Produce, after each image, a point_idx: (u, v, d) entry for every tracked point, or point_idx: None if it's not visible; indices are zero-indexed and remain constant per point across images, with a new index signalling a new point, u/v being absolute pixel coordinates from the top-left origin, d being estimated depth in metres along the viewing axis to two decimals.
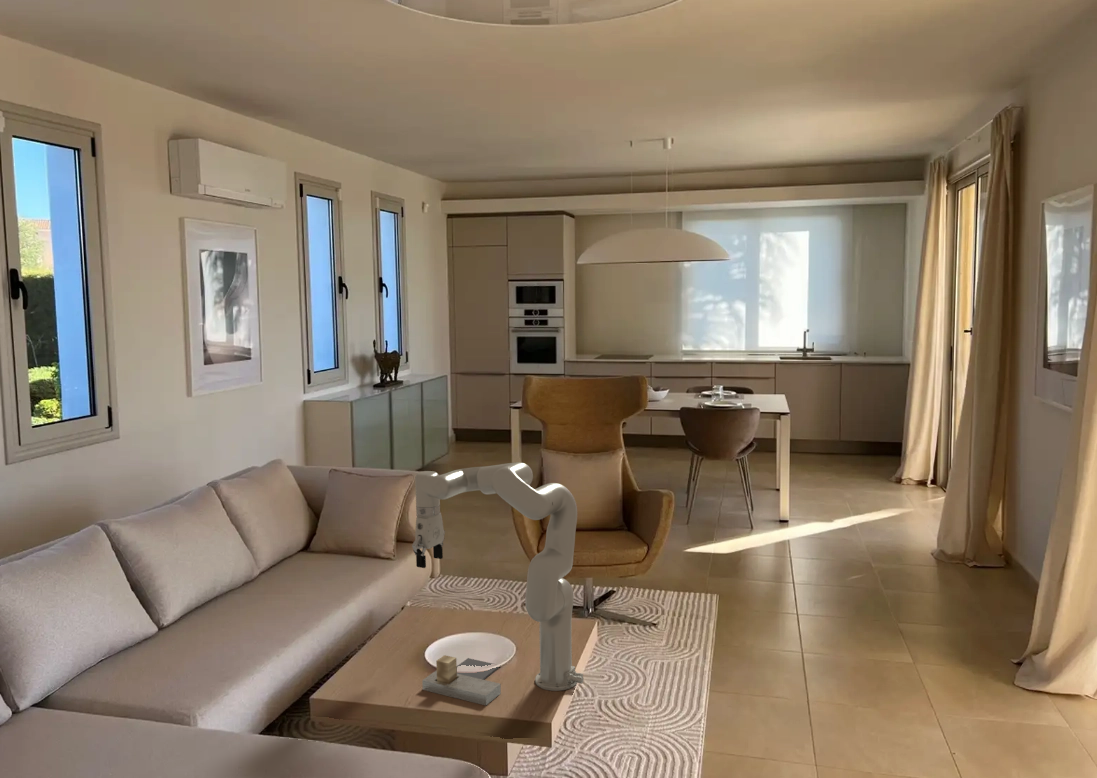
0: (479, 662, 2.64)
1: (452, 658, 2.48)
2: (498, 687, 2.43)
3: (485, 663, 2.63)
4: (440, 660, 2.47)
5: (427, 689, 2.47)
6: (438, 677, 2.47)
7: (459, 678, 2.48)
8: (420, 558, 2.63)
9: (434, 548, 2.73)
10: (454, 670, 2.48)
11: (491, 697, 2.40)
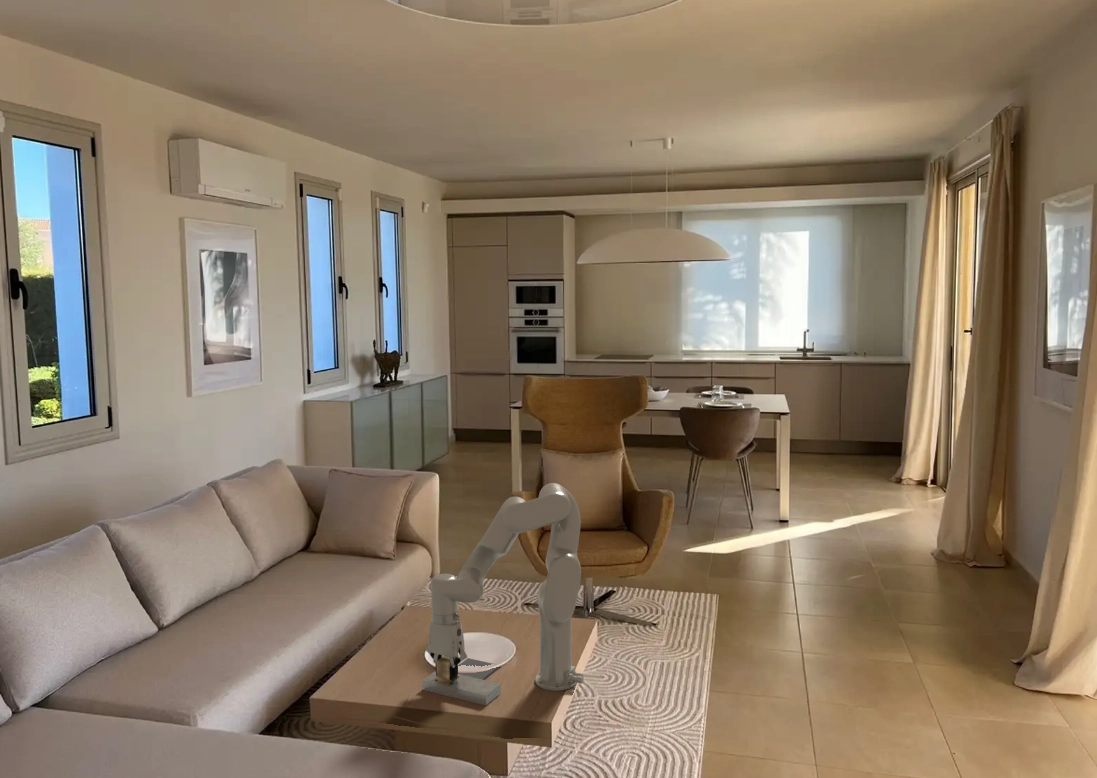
0: (479, 662, 2.64)
1: None
2: (498, 687, 2.43)
3: (485, 663, 2.63)
4: (440, 660, 2.47)
5: (427, 689, 2.47)
6: (438, 677, 2.47)
7: (459, 678, 2.48)
8: (457, 667, 2.47)
9: None
10: None
11: (491, 697, 2.40)
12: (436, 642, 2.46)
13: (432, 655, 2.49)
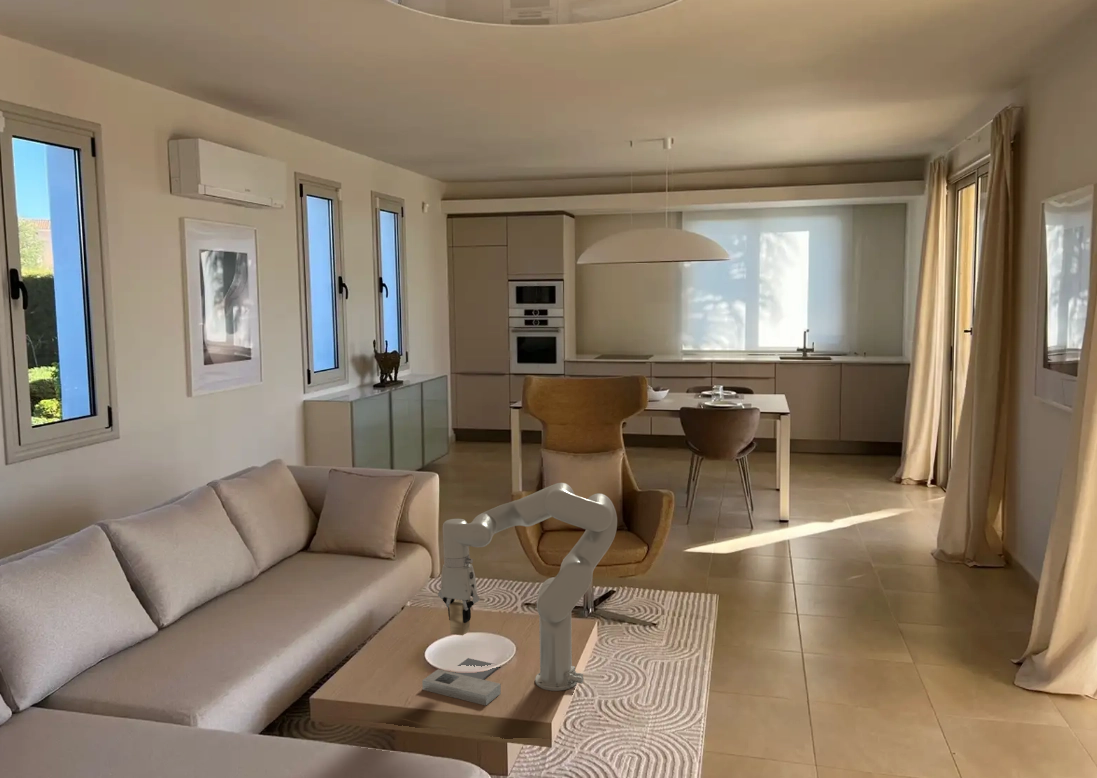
0: (479, 662, 2.64)
1: None
2: (498, 687, 2.43)
3: (485, 663, 2.63)
4: (453, 604, 2.50)
5: (427, 689, 2.47)
6: (451, 621, 2.50)
7: (459, 678, 2.48)
8: (469, 610, 2.50)
9: None
10: None
11: (491, 697, 2.40)
12: (449, 586, 2.49)
13: (445, 600, 2.52)
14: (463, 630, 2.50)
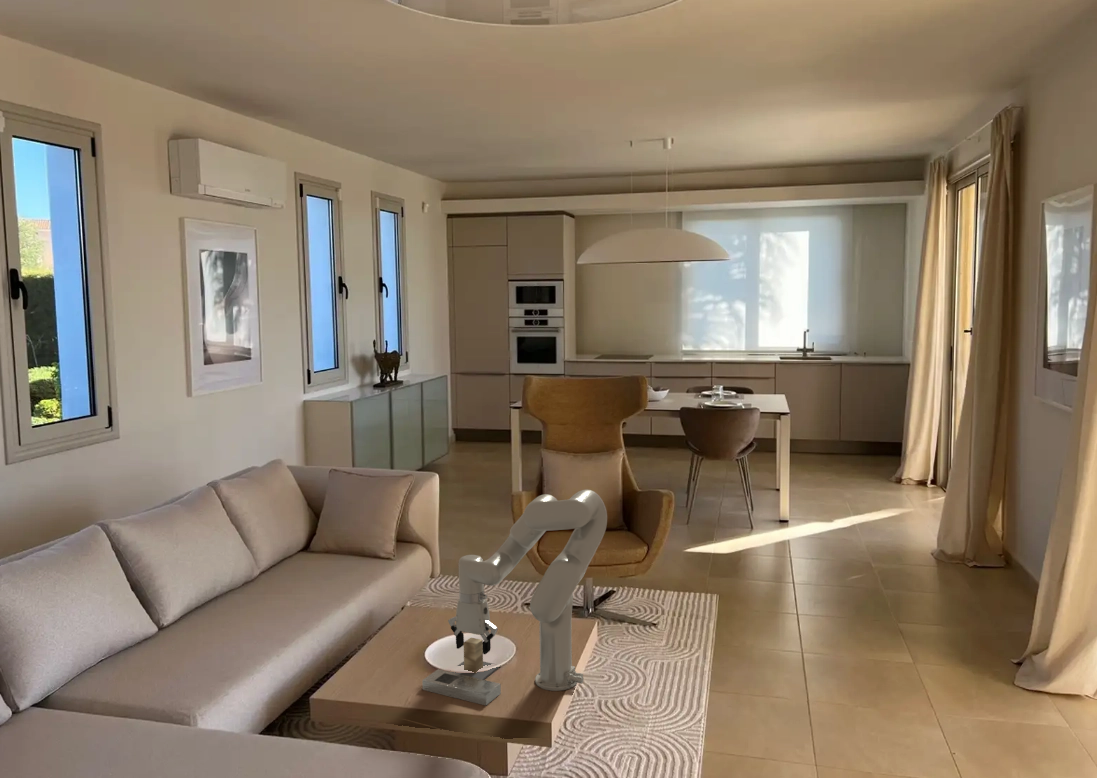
0: None
1: (478, 640, 2.59)
2: (498, 687, 2.43)
3: (485, 663, 2.63)
4: (467, 642, 2.58)
5: (427, 689, 2.47)
6: (465, 658, 2.58)
7: (459, 678, 2.48)
8: (489, 642, 2.56)
9: (459, 638, 2.60)
10: (480, 652, 2.59)
11: (491, 697, 2.40)
12: (463, 620, 2.56)
13: (453, 628, 2.60)
14: (476, 668, 2.57)
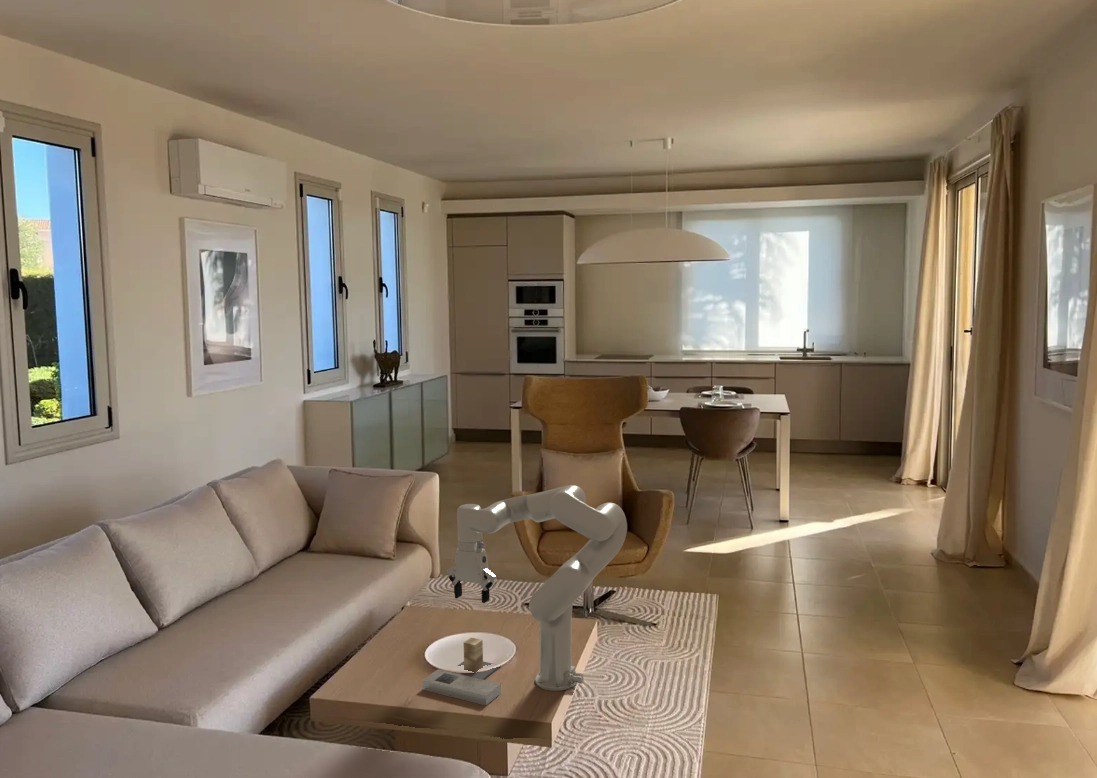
0: None
1: (478, 640, 2.59)
2: (498, 687, 2.43)
3: (485, 663, 2.63)
4: (467, 642, 2.58)
5: (427, 689, 2.47)
6: (465, 658, 2.58)
7: (459, 678, 2.48)
8: (488, 591, 2.55)
9: (457, 587, 2.59)
10: (480, 652, 2.59)
11: (491, 697, 2.40)
12: (462, 569, 2.55)
13: (451, 578, 2.59)
14: (476, 668, 2.57)
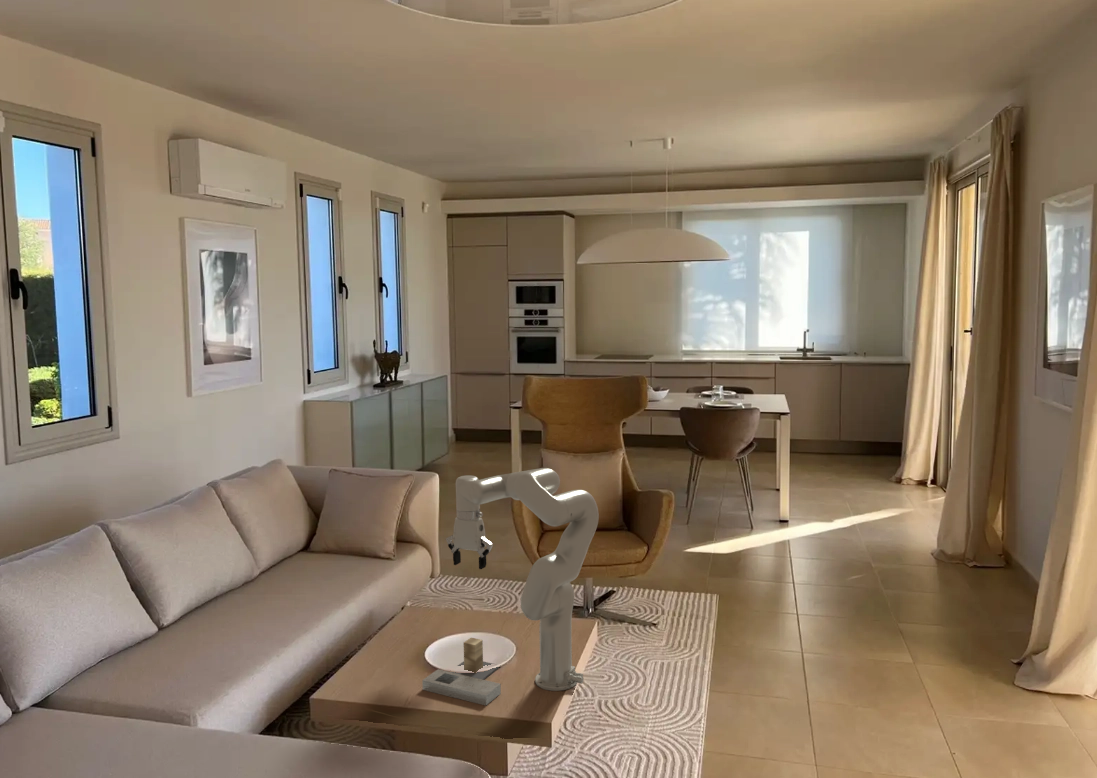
0: None
1: (478, 640, 2.59)
2: (498, 687, 2.43)
3: (485, 663, 2.63)
4: (467, 642, 2.58)
5: (427, 689, 2.47)
6: (465, 658, 2.58)
7: (459, 678, 2.48)
8: (485, 558, 2.69)
9: (456, 555, 2.73)
10: (480, 652, 2.59)
11: (491, 697, 2.40)
12: (460, 537, 2.69)
13: (450, 546, 2.74)
14: (476, 668, 2.57)
